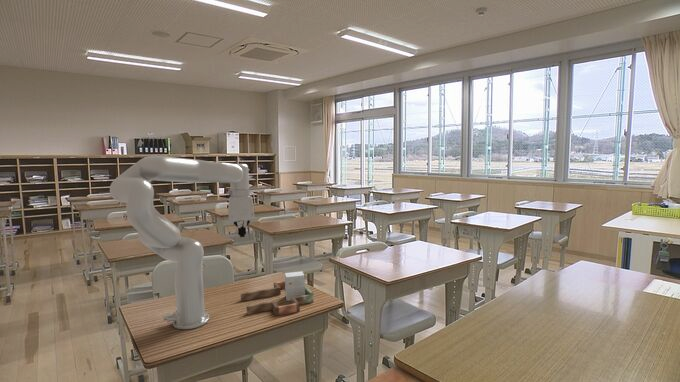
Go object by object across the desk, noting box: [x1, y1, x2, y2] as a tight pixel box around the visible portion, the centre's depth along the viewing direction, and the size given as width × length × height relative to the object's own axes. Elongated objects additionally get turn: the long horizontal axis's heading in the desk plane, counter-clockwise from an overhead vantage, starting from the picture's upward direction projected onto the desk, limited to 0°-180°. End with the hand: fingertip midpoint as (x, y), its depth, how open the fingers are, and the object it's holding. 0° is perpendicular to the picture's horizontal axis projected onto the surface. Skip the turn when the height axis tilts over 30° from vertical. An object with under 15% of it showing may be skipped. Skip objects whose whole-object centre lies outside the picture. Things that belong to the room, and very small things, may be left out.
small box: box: [284, 271, 306, 302], centre depth 159 cm, size 8×6×10 cm
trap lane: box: [240, 280, 315, 316], centre depth 156 cm, size 27×28×4 cm
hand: (242, 236), depth 157 cm, fingers closed
